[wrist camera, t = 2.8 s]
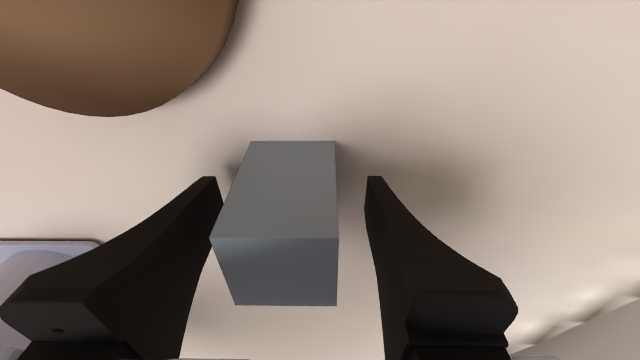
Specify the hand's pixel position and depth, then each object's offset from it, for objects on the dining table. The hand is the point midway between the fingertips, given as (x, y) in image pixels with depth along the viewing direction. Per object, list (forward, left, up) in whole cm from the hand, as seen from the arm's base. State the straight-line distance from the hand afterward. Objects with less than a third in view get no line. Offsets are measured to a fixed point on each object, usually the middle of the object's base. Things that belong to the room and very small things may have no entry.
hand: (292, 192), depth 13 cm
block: (0, 0, -2) cm, 2 cm away
